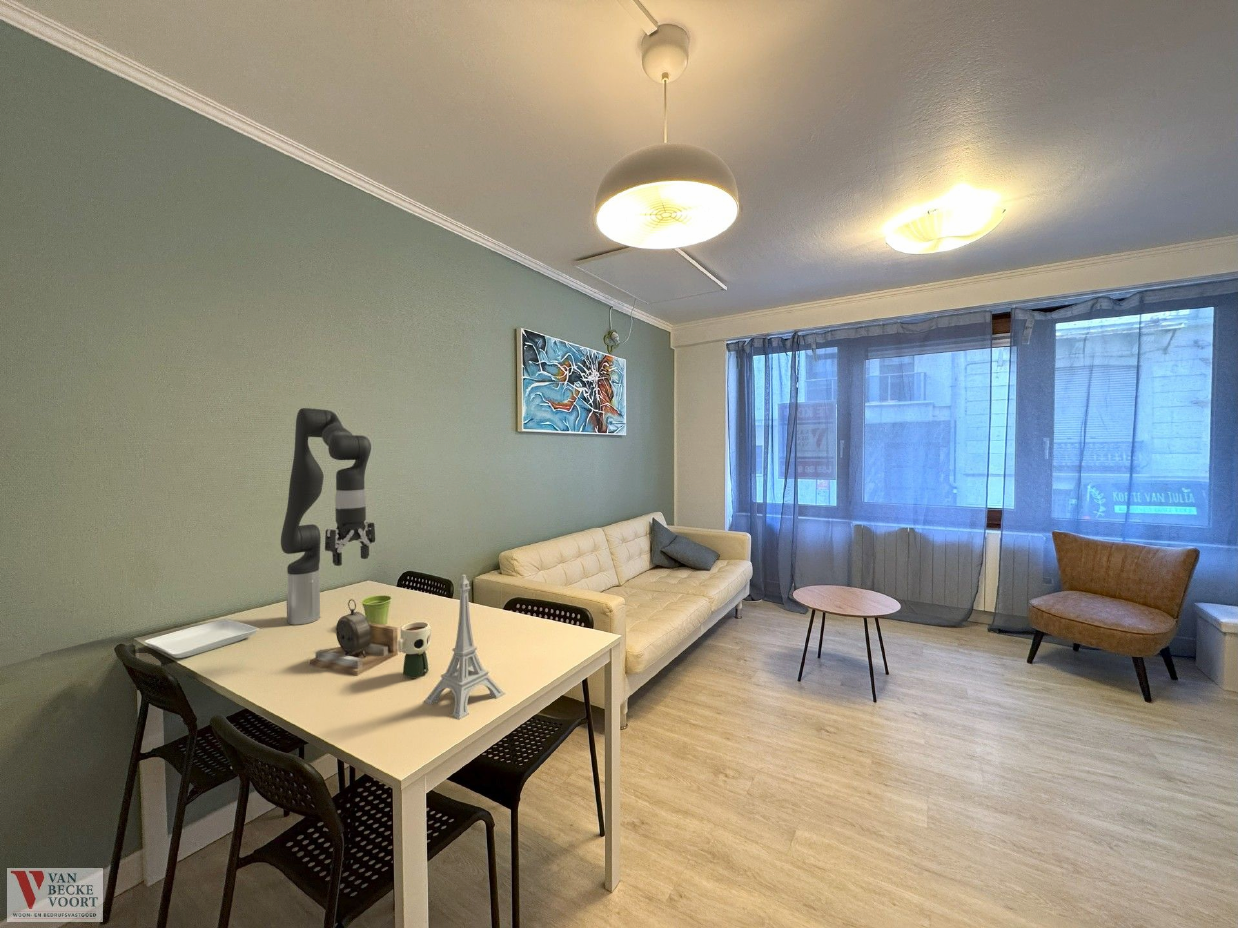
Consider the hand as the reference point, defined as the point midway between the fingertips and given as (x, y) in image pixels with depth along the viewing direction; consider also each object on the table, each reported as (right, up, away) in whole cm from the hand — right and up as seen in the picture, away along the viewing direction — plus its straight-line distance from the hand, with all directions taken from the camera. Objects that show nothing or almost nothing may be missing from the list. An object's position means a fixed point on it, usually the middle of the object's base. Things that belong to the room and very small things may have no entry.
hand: (351, 561), depth 135 cm
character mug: (+22, -28, -9) cm, 37 cm away
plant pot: (-6, -27, +26) cm, 38 cm away
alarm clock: (+1, -27, -1) cm, 27 cm away
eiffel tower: (+39, -29, -21) cm, 53 cm away
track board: (+1, -28, -1) cm, 28 cm away
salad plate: (-52, -28, +11) cm, 60 cm away
